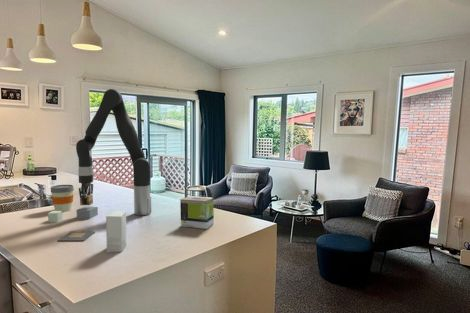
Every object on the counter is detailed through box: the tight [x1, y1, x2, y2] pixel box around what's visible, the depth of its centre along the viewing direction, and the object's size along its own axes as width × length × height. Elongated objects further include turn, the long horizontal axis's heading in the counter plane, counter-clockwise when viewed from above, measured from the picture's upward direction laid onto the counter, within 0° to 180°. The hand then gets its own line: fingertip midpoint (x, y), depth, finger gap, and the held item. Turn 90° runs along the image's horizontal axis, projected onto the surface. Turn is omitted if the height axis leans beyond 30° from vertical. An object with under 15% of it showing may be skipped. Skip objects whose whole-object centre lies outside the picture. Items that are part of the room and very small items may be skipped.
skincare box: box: [105, 210, 127, 253], centre depth 134 cm, size 8×7×16 cm
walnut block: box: [79, 194, 94, 206], centre depth 181 cm, size 5×5×5 cm
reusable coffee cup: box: [50, 184, 75, 213], centre depth 195 cm, size 13×13×15 cm
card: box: [56, 230, 96, 242], centre depth 149 cm, size 12×12×1 cm
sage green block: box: [47, 210, 63, 223], centre depth 174 cm, size 5×5×5 cm
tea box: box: [179, 195, 215, 230], centre depth 166 cm, size 15×10×15 cm
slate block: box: [76, 206, 99, 220], centre depth 182 cm, size 8×8×5 cm
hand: (86, 203), depth 182 cm, fingers closed on walnut block, 5 cm apart
